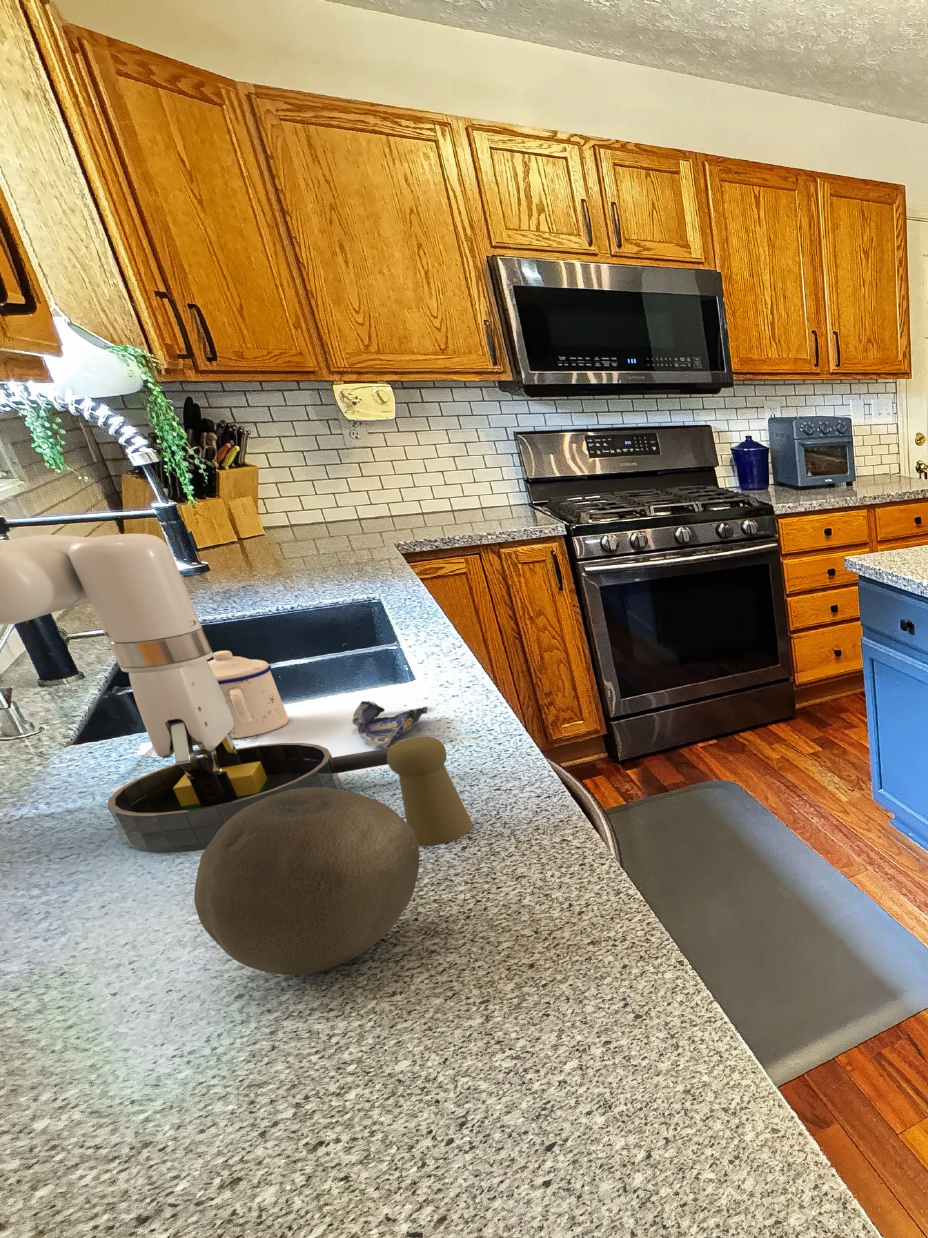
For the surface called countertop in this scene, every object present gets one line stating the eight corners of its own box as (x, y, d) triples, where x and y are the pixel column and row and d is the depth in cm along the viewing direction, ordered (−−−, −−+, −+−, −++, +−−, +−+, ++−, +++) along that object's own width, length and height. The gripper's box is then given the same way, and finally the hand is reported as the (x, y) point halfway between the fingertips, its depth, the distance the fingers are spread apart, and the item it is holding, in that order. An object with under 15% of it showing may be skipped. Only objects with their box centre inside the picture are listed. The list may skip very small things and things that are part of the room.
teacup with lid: (209, 727, 118) (177, 651, 113) (288, 712, 124) (260, 639, 119) (211, 751, 110) (176, 670, 105) (295, 734, 116) (266, 656, 111)
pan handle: (327, 777, 96) (321, 762, 96) (329, 771, 98) (324, 756, 97) (444, 756, 102) (439, 742, 101) (445, 751, 103) (440, 737, 103)
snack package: (318, 753, 110) (402, 750, 109) (307, 707, 108) (392, 704, 108) (384, 733, 121) (460, 731, 121) (375, 691, 120) (452, 689, 119)
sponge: (183, 811, 93) (172, 788, 91) (195, 796, 96) (184, 773, 95) (260, 797, 96) (251, 774, 95) (269, 783, 99) (260, 761, 98)
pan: (95, 870, 82) (74, 832, 80) (159, 796, 98) (144, 762, 96) (327, 824, 91) (313, 789, 89) (353, 763, 106) (342, 732, 104)
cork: (464, 813, 93) (438, 725, 89) (479, 831, 89) (452, 740, 85) (403, 831, 89) (372, 741, 85) (415, 851, 85) (383, 757, 81)
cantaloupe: (311, 1028, 61) (237, 859, 55) (196, 986, 66) (116, 825, 60) (477, 923, 73) (431, 775, 67) (370, 894, 78) (318, 753, 72)
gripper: (144, 637, 94) (207, 777, 101) (84, 676, 80) (161, 835, 88) (227, 628, 97) (282, 764, 104) (183, 664, 84) (250, 818, 91)
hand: (226, 795), depth 96 cm, fingers closed on sponge, 4 cm apart
